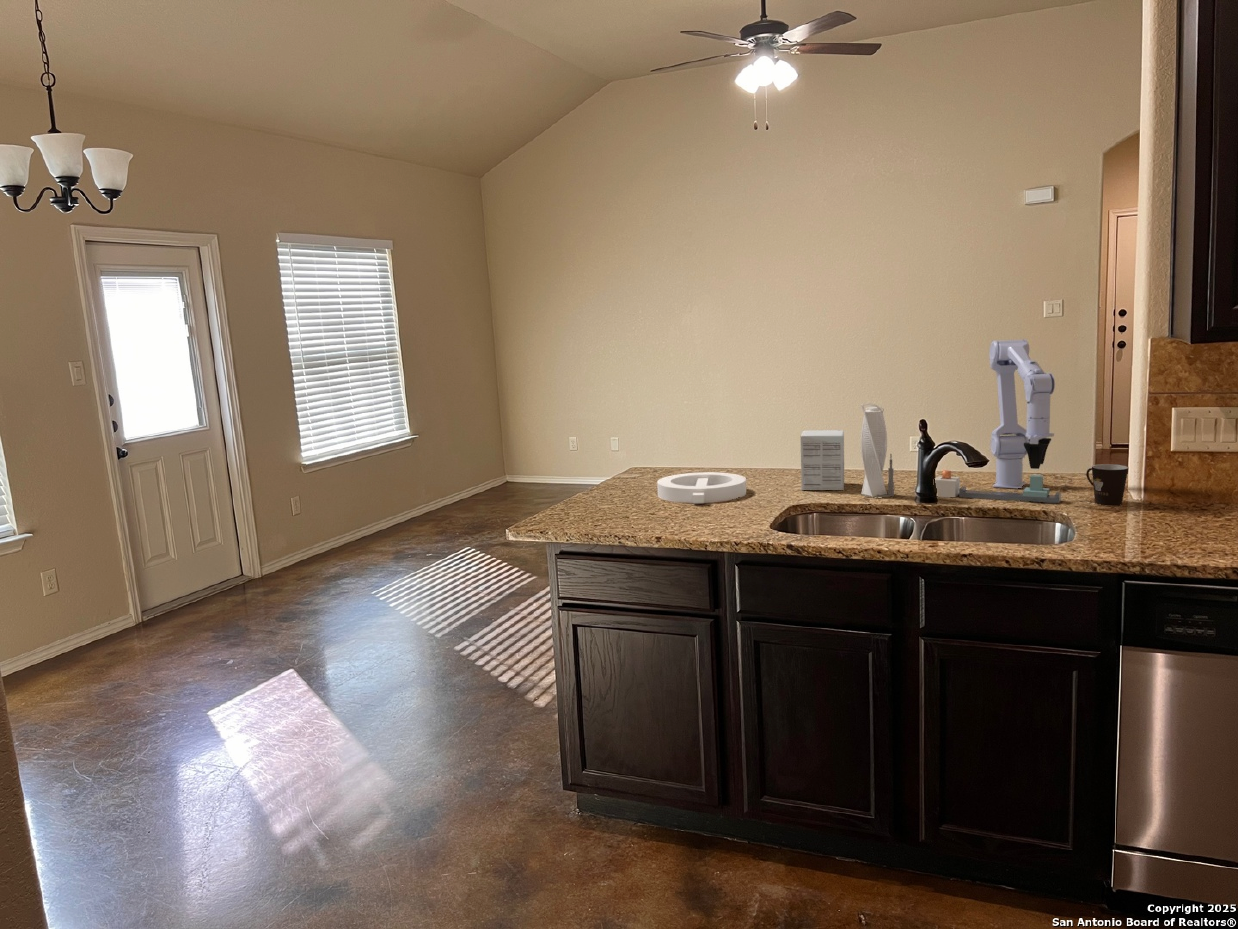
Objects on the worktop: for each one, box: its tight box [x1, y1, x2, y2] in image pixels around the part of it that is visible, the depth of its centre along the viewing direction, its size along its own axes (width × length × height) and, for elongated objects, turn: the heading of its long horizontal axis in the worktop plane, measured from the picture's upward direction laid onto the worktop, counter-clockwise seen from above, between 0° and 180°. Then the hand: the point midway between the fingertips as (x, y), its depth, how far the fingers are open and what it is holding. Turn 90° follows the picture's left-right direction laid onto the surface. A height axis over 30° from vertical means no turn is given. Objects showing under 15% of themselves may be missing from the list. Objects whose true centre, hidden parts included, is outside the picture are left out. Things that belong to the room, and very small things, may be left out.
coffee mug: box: [1085, 463, 1129, 506], centre depth 237 cm, size 12×9×10 cm
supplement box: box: [799, 429, 845, 491], centre depth 277 cm, size 13×13×18 cm
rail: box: [958, 486, 1062, 504], centre depth 247 cm, size 4×26×2 cm, turn 57°
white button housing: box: [934, 475, 961, 498], centre depth 256 cm, size 6×6×5 cm
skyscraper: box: [860, 402, 896, 498], centre depth 259 cm, size 8×8×28 cm
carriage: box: [1022, 474, 1051, 498], centre depth 243 cm, size 6×6×5 cm
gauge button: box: [941, 469, 952, 479], centre depth 256 cm, size 2×2×2 cm
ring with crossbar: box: [656, 471, 747, 504], centre depth 277 cm, size 28×28×5 cm
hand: (1036, 466), depth 242 cm, fingers open, 7 cm apart
